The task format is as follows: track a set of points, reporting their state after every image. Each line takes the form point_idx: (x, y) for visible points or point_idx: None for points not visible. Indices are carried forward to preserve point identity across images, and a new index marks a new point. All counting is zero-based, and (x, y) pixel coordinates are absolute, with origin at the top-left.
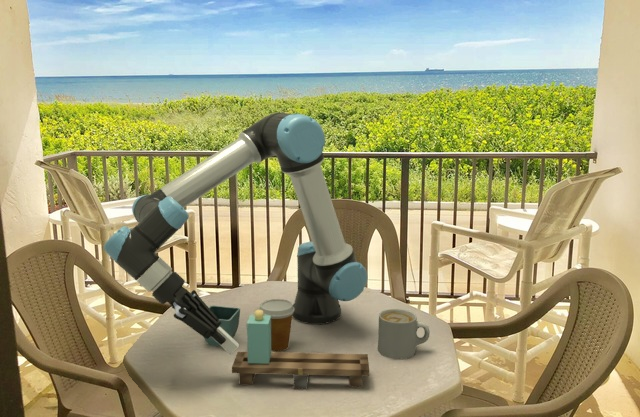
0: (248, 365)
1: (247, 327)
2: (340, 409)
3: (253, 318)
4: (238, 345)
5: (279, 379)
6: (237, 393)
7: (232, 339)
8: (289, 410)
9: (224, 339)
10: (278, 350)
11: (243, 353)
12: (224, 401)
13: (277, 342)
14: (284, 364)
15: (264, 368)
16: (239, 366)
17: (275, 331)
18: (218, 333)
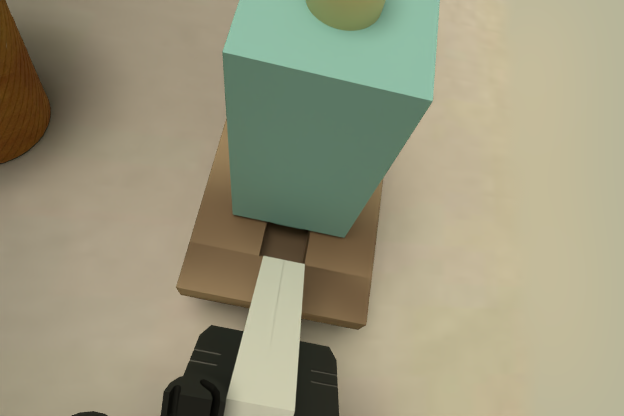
0: (355, 237)
1: (417, 120)
2: (495, 23)
3: (314, 37)
4: (284, 260)
5: None
6: (397, 316)
7: (273, 291)
8: (508, 147)
9: (318, 353)
10: (47, 116)
11: (209, 255)
12: (457, 373)
13: (34, 93)
14: None
15: None
16: (362, 283)
17: (8, 57)
18: (311, 408)
